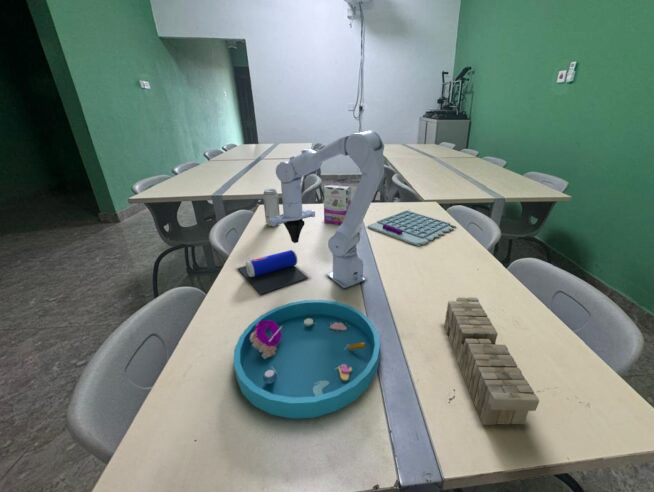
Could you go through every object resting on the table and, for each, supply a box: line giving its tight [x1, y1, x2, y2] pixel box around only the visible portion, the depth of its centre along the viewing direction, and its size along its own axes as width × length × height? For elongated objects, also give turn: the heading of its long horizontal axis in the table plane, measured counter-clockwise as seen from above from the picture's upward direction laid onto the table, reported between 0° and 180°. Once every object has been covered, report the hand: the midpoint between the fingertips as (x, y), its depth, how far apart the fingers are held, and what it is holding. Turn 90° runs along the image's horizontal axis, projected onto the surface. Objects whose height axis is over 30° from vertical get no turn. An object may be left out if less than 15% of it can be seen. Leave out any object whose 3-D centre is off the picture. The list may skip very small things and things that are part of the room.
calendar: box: [367, 210, 457, 248], centre depth 138 cm, size 27×29×2 cm
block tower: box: [443, 296, 540, 426], centre depth 66 cm, size 8×8×29 cm
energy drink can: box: [262, 188, 281, 227], centre depth 134 cm, size 6×6×15 cm
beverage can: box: [245, 249, 299, 277], centre depth 99 cm, size 5×5×15 cm
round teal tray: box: [233, 299, 381, 420], centre depth 68 cm, size 30×30×6 cm
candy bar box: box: [322, 184, 352, 226], centre depth 138 cm, size 11×5×16 cm, turn 73°
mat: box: [237, 265, 309, 296], centre depth 99 cm, size 18×15×1 cm
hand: (294, 241), depth 102 cm, fingers closed
